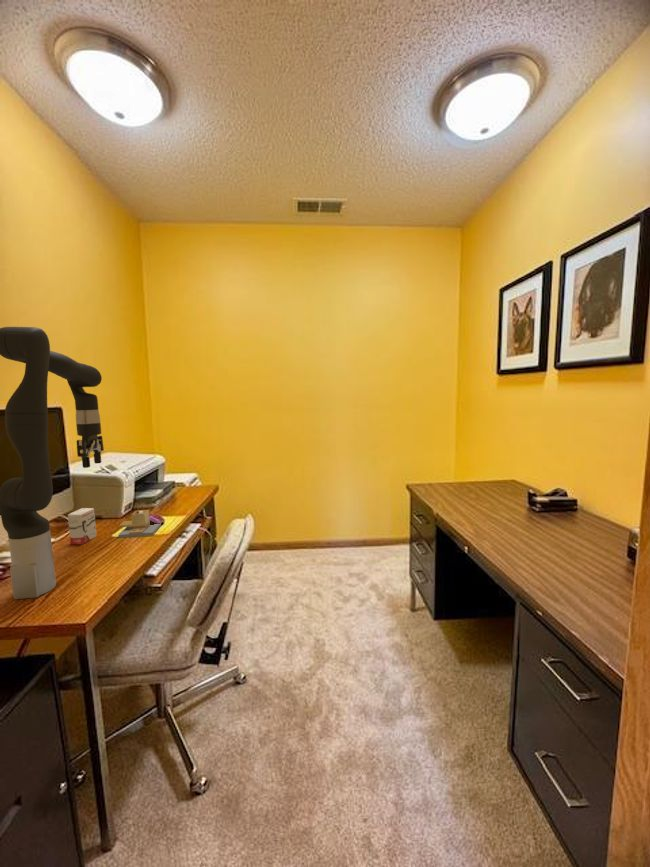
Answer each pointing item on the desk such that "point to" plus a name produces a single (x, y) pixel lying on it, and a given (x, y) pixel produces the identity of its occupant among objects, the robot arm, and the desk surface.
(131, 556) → the desk surface
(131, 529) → the hinge base
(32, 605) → the desk surface
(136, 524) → the beige flanged block
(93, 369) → the robot arm
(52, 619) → the desk surface
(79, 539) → the ink box
